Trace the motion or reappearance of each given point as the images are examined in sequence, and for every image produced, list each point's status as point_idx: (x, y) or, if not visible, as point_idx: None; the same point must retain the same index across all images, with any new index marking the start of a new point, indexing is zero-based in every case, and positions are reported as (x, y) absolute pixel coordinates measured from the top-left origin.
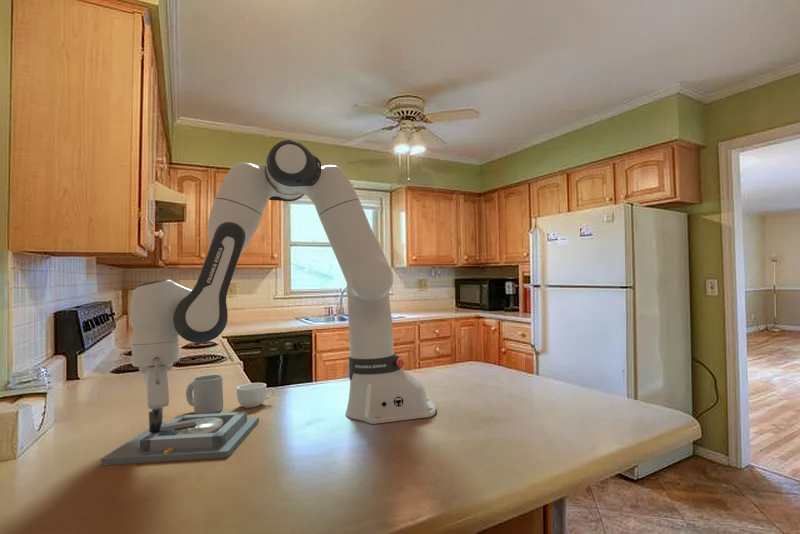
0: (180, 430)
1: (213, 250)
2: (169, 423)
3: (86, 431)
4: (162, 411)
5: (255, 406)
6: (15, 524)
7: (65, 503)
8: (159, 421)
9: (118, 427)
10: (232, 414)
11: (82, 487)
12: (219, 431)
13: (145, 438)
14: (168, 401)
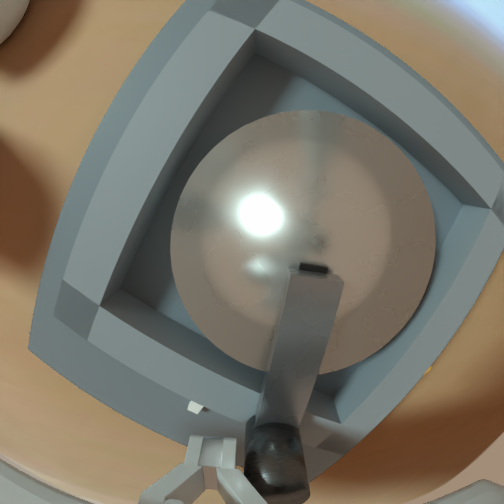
0: (346, 345)
1: None
2: (171, 373)
3: (23, 442)
4: (234, 466)
5: (27, 5)
6: (443, 483)
7: (441, 464)
8: (302, 451)
9: (9, 401)
10: (237, 39)
11: (404, 467)
12: (487, 190)
13: (333, 445)
14: (502, 487)
